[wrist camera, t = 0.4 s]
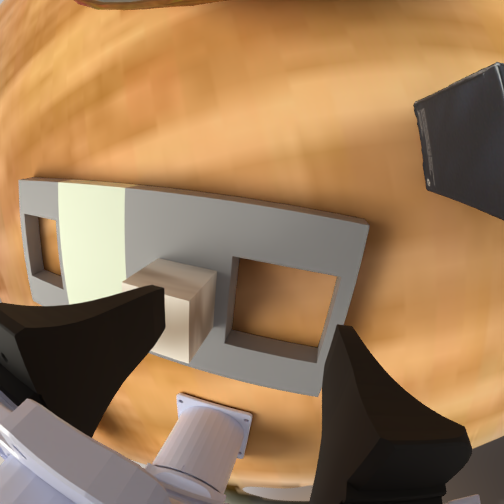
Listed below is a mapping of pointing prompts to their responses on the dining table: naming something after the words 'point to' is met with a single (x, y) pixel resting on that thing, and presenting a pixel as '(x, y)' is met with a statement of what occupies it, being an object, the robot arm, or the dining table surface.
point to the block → (180, 305)
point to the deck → (193, 260)
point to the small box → (466, 140)
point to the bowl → (139, 3)
